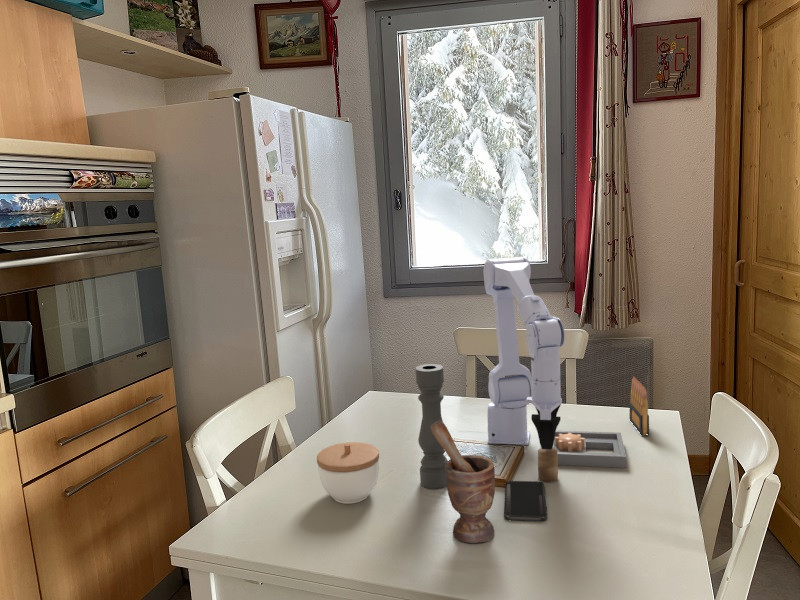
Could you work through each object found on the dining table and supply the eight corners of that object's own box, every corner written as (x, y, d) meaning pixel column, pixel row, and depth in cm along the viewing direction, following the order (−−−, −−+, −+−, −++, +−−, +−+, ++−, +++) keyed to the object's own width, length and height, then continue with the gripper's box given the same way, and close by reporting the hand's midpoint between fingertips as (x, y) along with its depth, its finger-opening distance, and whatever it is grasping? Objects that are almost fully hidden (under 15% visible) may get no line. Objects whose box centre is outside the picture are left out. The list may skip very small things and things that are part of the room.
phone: (503, 516, 120) (505, 480, 134) (503, 522, 120) (505, 485, 134) (547, 518, 118) (544, 481, 133) (547, 523, 118) (544, 486, 133)
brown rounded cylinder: (537, 482, 134) (537, 454, 133) (538, 473, 138) (538, 446, 137) (557, 483, 133) (557, 455, 132) (558, 474, 137) (557, 447, 136)
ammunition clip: (649, 436, 155) (649, 387, 153) (641, 436, 155) (641, 388, 153) (636, 420, 165) (636, 375, 163) (629, 420, 165) (629, 375, 163)
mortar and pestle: (427, 542, 114) (421, 433, 110) (437, 517, 122) (432, 416, 119) (493, 548, 111) (489, 436, 107) (499, 522, 119) (495, 418, 116)
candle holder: (454, 478, 138) (448, 364, 134) (443, 491, 133) (437, 372, 129) (427, 474, 141) (421, 362, 137) (415, 486, 135) (409, 370, 131)
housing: (548, 464, 142) (548, 449, 142) (550, 440, 156) (550, 426, 155) (626, 467, 138) (626, 452, 138) (620, 442, 152) (620, 428, 151)
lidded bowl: (354, 477, 142) (350, 428, 140) (394, 493, 133) (391, 442, 131) (307, 497, 133) (303, 446, 131) (347, 517, 124) (343, 462, 122)
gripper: (527, 368, 140) (529, 428, 142) (523, 388, 126) (525, 454, 128) (561, 368, 138) (562, 429, 140) (561, 388, 124) (562, 456, 127)
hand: (547, 441), depth 134 cm, fingers open, 7 cm apart
